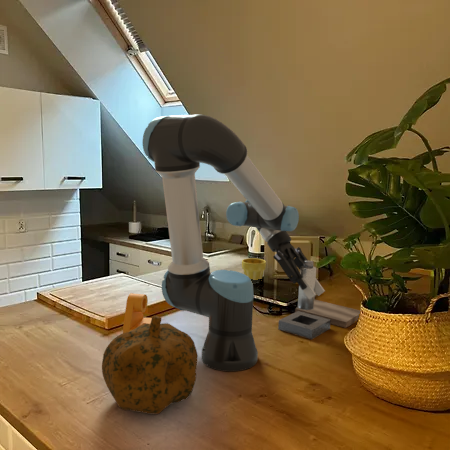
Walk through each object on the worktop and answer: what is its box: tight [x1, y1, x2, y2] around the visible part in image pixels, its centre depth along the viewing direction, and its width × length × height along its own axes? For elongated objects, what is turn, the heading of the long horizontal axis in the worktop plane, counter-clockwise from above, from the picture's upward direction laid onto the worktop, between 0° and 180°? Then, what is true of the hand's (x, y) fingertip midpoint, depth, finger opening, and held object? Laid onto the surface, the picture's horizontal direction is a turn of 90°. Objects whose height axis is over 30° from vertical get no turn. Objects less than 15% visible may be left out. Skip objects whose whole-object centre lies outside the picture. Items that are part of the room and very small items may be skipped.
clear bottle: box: [297, 259, 317, 310], centre depth 143 cm, size 5×5×15 cm
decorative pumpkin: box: [101, 315, 198, 415], centre depth 99 cm, size 20×21×20 cm
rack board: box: [294, 299, 361, 329], centre depth 157 cm, size 14×19×2 cm
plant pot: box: [241, 257, 267, 280], centre depth 196 cm, size 10×10×10 cm
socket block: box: [277, 311, 331, 340], centre depth 144 cm, size 12×12×3 cm
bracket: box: [122, 292, 152, 334], centre depth 138 cm, size 11×7×12 cm, turn 168°
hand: (317, 295), depth 141 cm, fingers closed on clear bottle, 5 cm apart
